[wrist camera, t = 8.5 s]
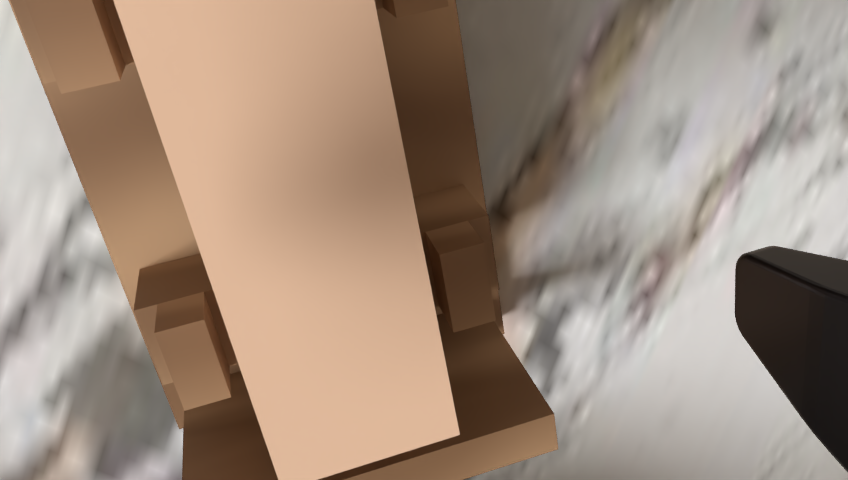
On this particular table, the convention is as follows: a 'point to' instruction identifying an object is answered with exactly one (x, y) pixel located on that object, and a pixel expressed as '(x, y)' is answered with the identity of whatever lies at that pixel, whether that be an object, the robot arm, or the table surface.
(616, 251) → the table surface
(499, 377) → the rack
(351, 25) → the tan rectangular block
